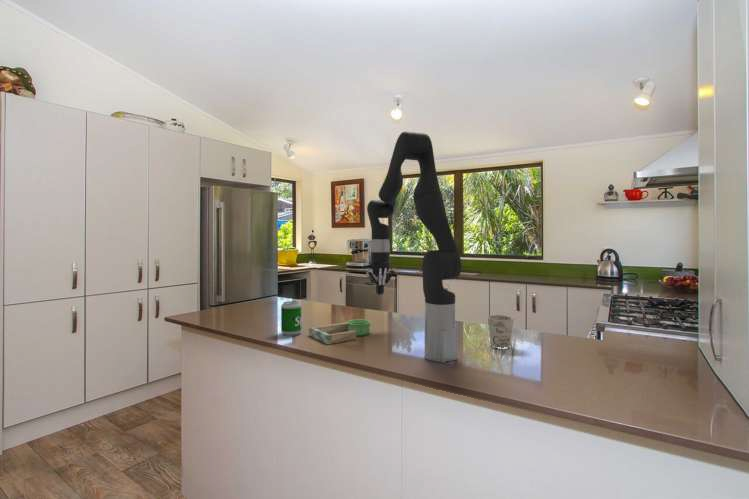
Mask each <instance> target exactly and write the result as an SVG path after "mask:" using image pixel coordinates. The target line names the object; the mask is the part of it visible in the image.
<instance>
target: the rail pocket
mask: <svg viewBox="0 0 749 499" xmlns="http://www.w3.org/2000/svg"><path fill="white" fill-rule="evenodd" d="M347 322H348V321H345V322H340V323H339V322H337V323H330V324H324V325H317V326H310V327H309V328H308V330H309V332H308V333H309V334H308V335H309V336H310V337H311V338H314V339H315V340H318V341H320V342H322V343H324V344H326V345H332V344H337V343H343V342H350V341H355V340H357V335H356V331H354V330H353V331H348V324H347Z"/></svg>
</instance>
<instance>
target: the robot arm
mask: <svg viewBox="0 0 749 499" xmlns="http://www.w3.org/2000/svg"><path fill="white" fill-rule="evenodd" d="M433 147H434V146H433V142H432V140H431V137H430V135H428V134H427V133H425V132H417V131H410V130H407V131H406V130H405V131H403V132H401V133H400V134H399V135H398V138H397V140H396V142H395V146H394V148H393V152H392V156H391V158H390V163H389V167H388V170H387V173H386V176H385V179H384V181H383V183H382V185H381V187H380V189H379V192H378V198H379V199H372V200H370V201H369V202H368V203H367V207H366V211H367V212H366V213H367V216H368V219H369V222H370V228H371V243H370V264H371V265H370V267H369V270H368V271H365V275H366V276H367V278H368V279H369V281H370V282H371V284H373V285H375V293H376V295H379V296H381V295H383V294H384V292H385V285H386V284H388V283H389V282H390V280H391V279H392V277H393V275H394V273H395V270H392V268H391V266H390V261H391V257H390V256H391V252H390V251H391V245H390V244H391V243H390V226H389V225H388V224H385V223H382V222H381V221H380V219H390V217H392V216H393V215H394V214H395V206H396V202H397V198H398V196H399V194H400V193H401V190H402V188H403V186H404V178H403V174H402V173H403V172H402V165H403V163H404V162H405V161H406V160H407V161H409V160H410V161H417V162H418V165H419V171H420V174H419V178H418V181H417V182H416V185H415V187H414V190H413V194H412V195H413V196H412V199H413V204H414V208H415V212H416V215H417V217H418V220H419V221H420V222H421V224H423V226H424V227H425V228H426V229H427V231H428V232H429V234H431V236H432V237H433V239H434V241H435V242H436V246H437V249H433V250H432V249H431V250H428V251H426V252H425V253H424V256H423V258H422V264H421V272H422V291H423V295H424V353H423V354H424V358H425V359H427V360H428V361H432V362H436V361H437V362H438V363H442V364H443V363H444V364H445V363H447V361H448V362H451V361H457V359H458V328H456V294H455V292H453V291H450V290H447V289H446V288H445V287H444V284H443V281H446V280H447V281H448V280H455V279H458V278H459V276H460V275H461V272H462V260H461V255H460V253H459V250H458V247H457V246H458V245H457V244H456V241H455V238H454V235H453V233H452V230H451V226H450V223H449V219H448V215H447V212H446V211H447V210H446V206H445V202H444V198H443V194H442V190H441V188H440V182H439V179H438V173H437V169H436V161H435V156H434V148H433ZM437 362H436V363H437Z"/></svg>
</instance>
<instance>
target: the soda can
mask: <svg viewBox="0 0 749 499" xmlns="http://www.w3.org/2000/svg"><path fill="white" fill-rule="evenodd" d="M280 312H281V314H280V315H281V316H280V318H281V319H280V321H281V322H280V323H281V324H280V327H281V328H280V330H281V331H280V332H281V333H282V334H283V336H288V337H289V336H290V337H293V336H298V335H299V334H301V332H302V331H303V330H302V304H301V303H300V301H297V300H294V301H293V300H292V301H291V300H290V301H288V300H287V301H284V302H283V303H282V304H281V306H280Z"/></svg>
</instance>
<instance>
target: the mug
mask: <svg viewBox="0 0 749 499" xmlns="http://www.w3.org/2000/svg"><path fill="white" fill-rule="evenodd" d="M513 325H514V317H512V316H509V315H503V314H502V315H501V314H493V315H488V316H487V326H488V333H489V342H490V347H491V346H494V347H501V348H504V347H509V348H510V345H511V340H512V339H511V338H512V334H513V333H512V332H513Z"/></svg>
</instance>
